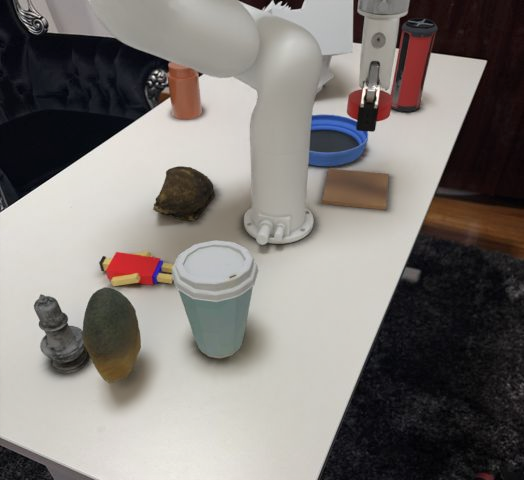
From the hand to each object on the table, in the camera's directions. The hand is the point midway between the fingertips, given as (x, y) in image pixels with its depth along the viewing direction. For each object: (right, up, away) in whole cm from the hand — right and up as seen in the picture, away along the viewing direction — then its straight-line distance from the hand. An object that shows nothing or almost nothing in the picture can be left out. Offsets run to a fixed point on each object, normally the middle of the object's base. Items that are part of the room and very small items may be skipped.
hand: (366, 119), depth 87 cm
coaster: (0, -9, +10) cm, 14 cm away
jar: (-37, +18, +34) cm, 53 cm away
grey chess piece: (-45, -42, -18) cm, 64 cm away
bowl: (-5, +4, +22) cm, 23 cm away
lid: (0, +2, -2) cm, 3 cm away
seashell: (-33, -13, +7) cm, 36 cm away
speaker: (+17, +20, +36) cm, 44 cm away
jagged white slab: (-9, +26, +42) cm, 50 cm away
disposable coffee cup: (-24, -40, -16) cm, 49 cm away
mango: (-37, -45, -20) cm, 61 cm away
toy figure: (-39, -28, -6) cm, 48 cm away
